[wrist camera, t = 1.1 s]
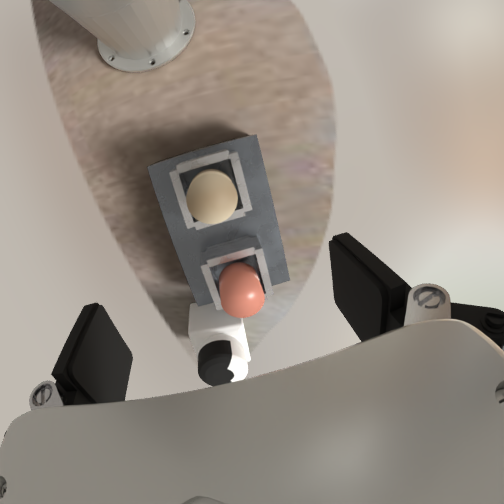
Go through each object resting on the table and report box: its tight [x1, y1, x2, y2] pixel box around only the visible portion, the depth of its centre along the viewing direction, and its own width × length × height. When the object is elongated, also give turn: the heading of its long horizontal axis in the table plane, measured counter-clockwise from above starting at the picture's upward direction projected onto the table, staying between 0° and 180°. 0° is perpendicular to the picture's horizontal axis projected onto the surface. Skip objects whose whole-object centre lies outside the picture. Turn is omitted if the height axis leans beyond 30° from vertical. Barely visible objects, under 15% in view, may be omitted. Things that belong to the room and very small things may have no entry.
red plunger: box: [219, 262, 265, 318], centre depth 29 cm, size 4×4×4 cm
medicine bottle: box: [188, 303, 251, 386], centre depth 37 cm, size 7×7×12 cm
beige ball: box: [186, 169, 238, 224], centre depth 24 cm, size 4×4×4 cm
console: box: [147, 135, 290, 310], centre depth 32 cm, size 18×12×9 cm, turn 14°
